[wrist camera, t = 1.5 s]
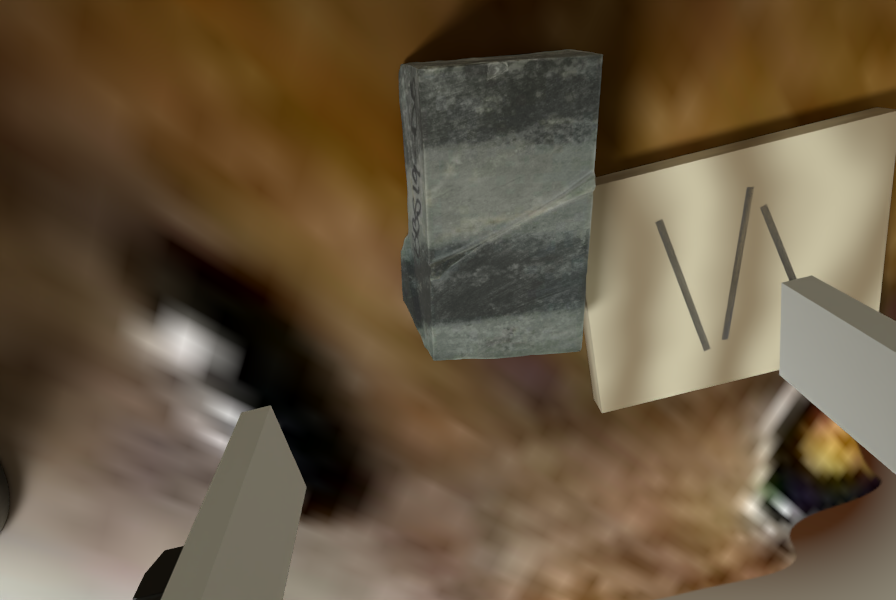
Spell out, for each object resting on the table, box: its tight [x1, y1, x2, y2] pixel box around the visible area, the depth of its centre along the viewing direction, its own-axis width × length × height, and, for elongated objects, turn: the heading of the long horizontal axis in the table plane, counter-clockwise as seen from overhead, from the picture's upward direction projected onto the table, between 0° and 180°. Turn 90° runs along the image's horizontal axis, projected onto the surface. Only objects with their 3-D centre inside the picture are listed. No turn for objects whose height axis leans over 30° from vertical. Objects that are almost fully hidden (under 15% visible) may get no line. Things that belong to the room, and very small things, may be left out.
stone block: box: [399, 49, 603, 360], centre depth 28 cm, size 9×14×5 cm, turn 2°
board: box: [583, 107, 896, 413], centre depth 32 cm, size 17×14×2 cm
